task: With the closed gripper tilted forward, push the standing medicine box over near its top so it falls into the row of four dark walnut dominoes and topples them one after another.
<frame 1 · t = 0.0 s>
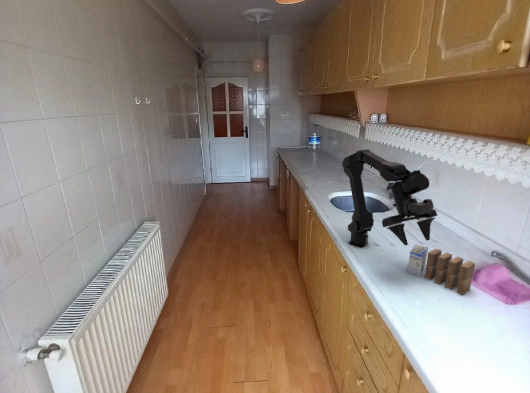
hand: (417, 242, 99), 15 cm above the worktop, tool tilted 35°, fingers open, 9 cm apart
walnut domino 2: (441, 281, 103), on the worktop
walnut domino 4: (462, 290, 98), on the worktop
walnut domino 3: (451, 285, 100), on the worktop
medicine box: (416, 270, 111), on the worktop
walnut domino 1: (431, 276, 106), on the worktop
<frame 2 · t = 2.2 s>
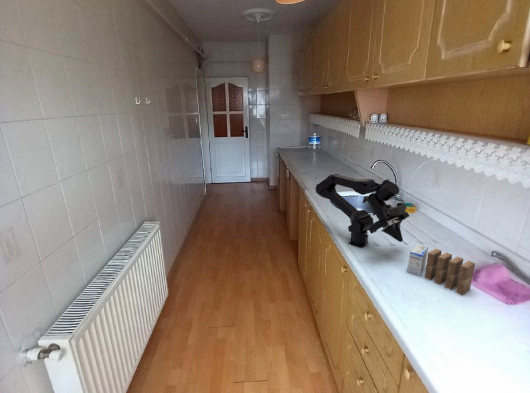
hand: (401, 241, 113), 9 cm above the worktop, tool tilted 45°, fingers closed
nothing on the worktop moved.
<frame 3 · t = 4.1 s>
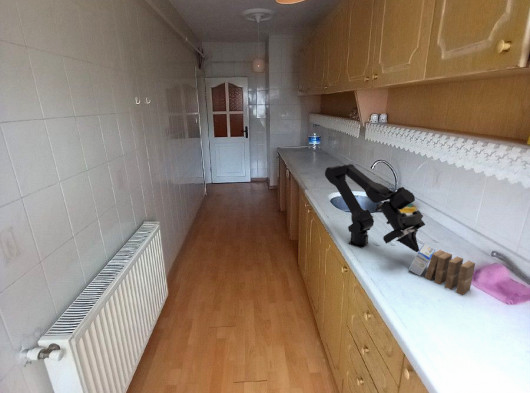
hand: (417, 251, 108), 7 cm above the worktop, tool tilted 45°, fingers closed
walnut domino 1: (431, 276, 106), on the worktop, tilted 9°
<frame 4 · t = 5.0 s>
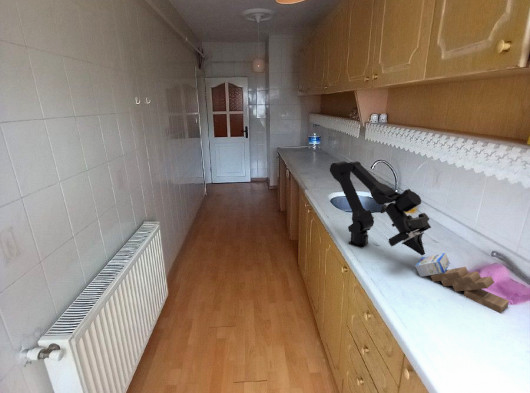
hand: (423, 254, 107), 7 cm above the worktop, tool tilted 45°, fingers closed
walnut domino 2: (446, 281, 102), point 1 cm above the worktop, tilted 54°, touching walnut domino 1, walnut domino 3
walnut domino 4: (467, 290, 96), point 1 cm above the worktop, tilted 89°, touching walnut domino 3
walnut domino 3: (457, 285, 99), point 1 cm above the worktop, tilted 54°, touching walnut domino 2, walnut domino 4
medicine box: (420, 267, 109), point 2 cm above the worktop, touching walnut domino 1
walnut domino 1: (435, 276, 105), point 1 cm above the worktop, tilted 54°, touching medicine box, walnut domino 2
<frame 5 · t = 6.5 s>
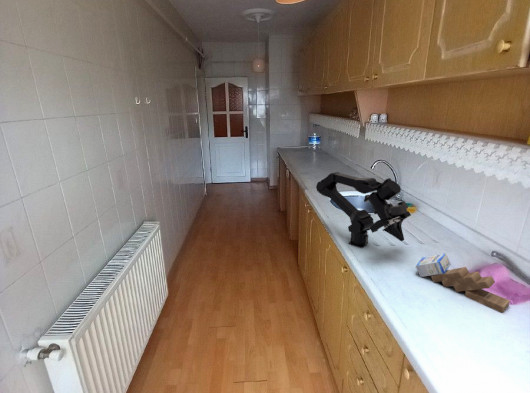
hand: (402, 240, 113), 9 cm above the worktop, tool tilted 45°, fingers closed
walnut domino 3: (458, 286, 99), point 1 cm above the worktop, tilted 55°, touching walnut domino 2, walnut domino 4
everything else where it was.
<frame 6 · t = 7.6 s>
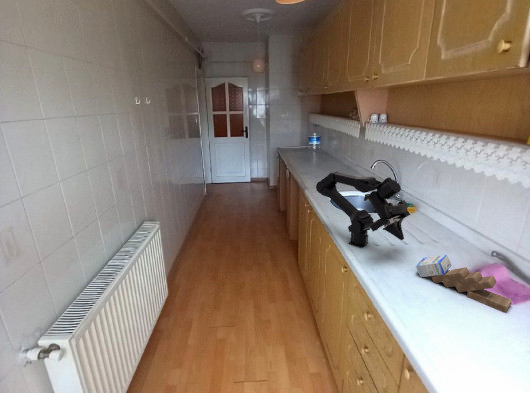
hand: (402, 239, 113), 10 cm above the worktop, tool tilted 45°, fingers closed
walnut domino 2: (447, 281, 101), point 1 cm above the worktop, tilted 55°, touching walnut domino 1, walnut domino 3
medicine box: (421, 267, 109), point 2 cm above the worktop
walnut domino 1: (436, 277, 104), point 1 cm above the worktop, tilted 55°, touching walnut domino 2
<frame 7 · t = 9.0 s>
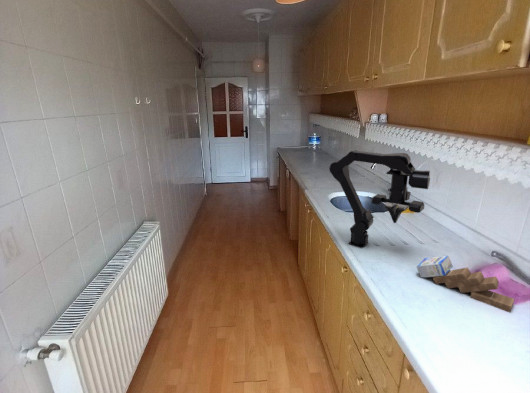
hand: (394, 222, 120), 13 cm above the worktop, tool pointing down, fingers closed
walnut domino 4: (472, 291, 96), point 1 cm above the worktop, tilted 89°
walnut domino 3: (461, 286, 98), point 1 cm above the worktop, tilted 59°, touching walnut domino 2
medicine box: (422, 267, 108), point 2 cm above the worktop, touching walnut domino 1
walnut domino 1: (436, 278, 103), point 1 cm above the worktop, tilted 56°, touching medicine box, walnut domino 2
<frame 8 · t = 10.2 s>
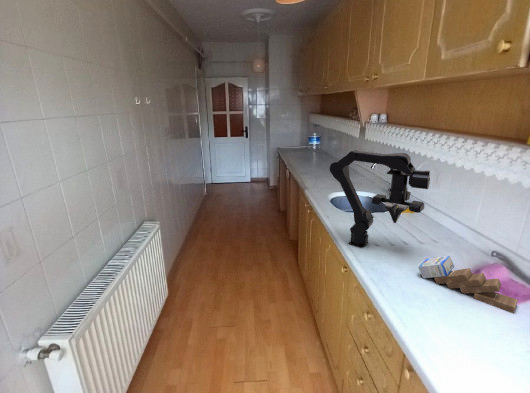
hand: (395, 222, 120), 13 cm above the worktop, tool pointing down, fingers closed
walnut domino 2: (450, 282, 101), point 1 cm above the worktop, tilted 57°, touching walnut domino 1, walnut domino 3
walnut domino 4: (475, 292, 95), point 1 cm above the worktop, tilted 89°, touching walnut domino 3
walnut domino 3: (462, 287, 98), point 1 cm above the worktop, tilted 61°, touching walnut domino 2, walnut domino 4
at the end: walnut domino 4 tilted 89°; medicine box tilted 60° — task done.
